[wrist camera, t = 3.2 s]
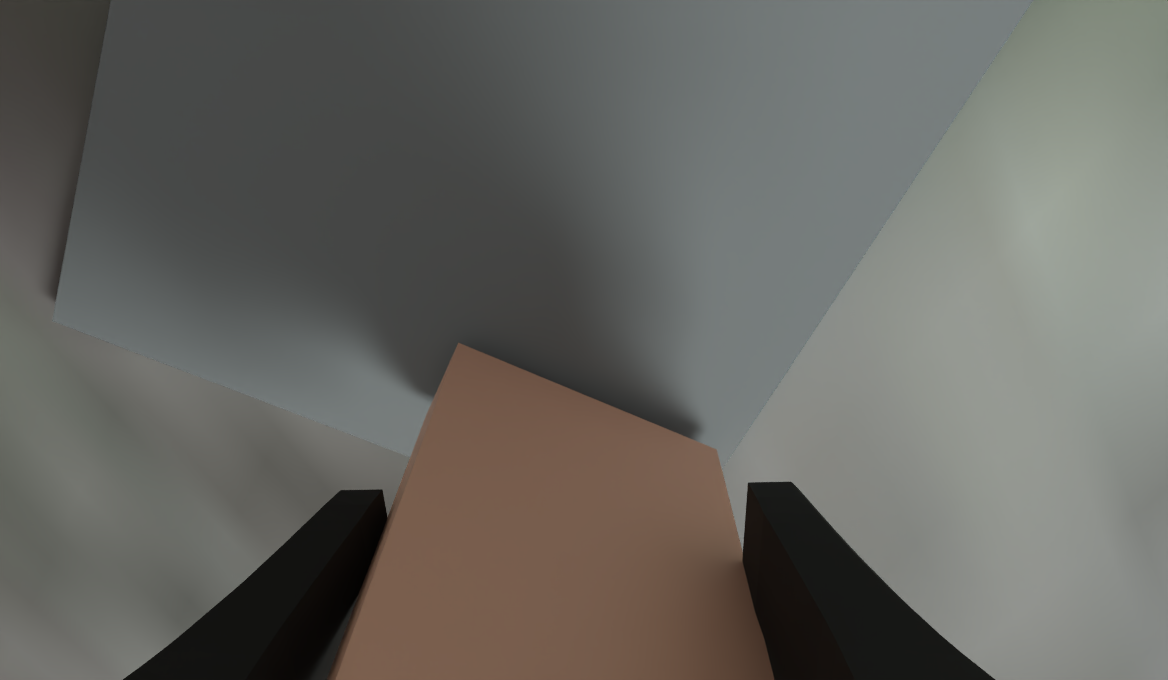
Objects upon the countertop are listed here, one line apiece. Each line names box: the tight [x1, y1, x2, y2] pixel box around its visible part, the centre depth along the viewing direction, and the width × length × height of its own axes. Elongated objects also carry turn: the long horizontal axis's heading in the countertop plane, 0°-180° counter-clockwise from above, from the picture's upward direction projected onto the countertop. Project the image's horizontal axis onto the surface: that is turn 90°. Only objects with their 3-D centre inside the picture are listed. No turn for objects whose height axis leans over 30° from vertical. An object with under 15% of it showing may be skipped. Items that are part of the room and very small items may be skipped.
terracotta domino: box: [327, 343, 774, 680], centre depth 10 cm, size 5×2×9 cm, turn 65°
